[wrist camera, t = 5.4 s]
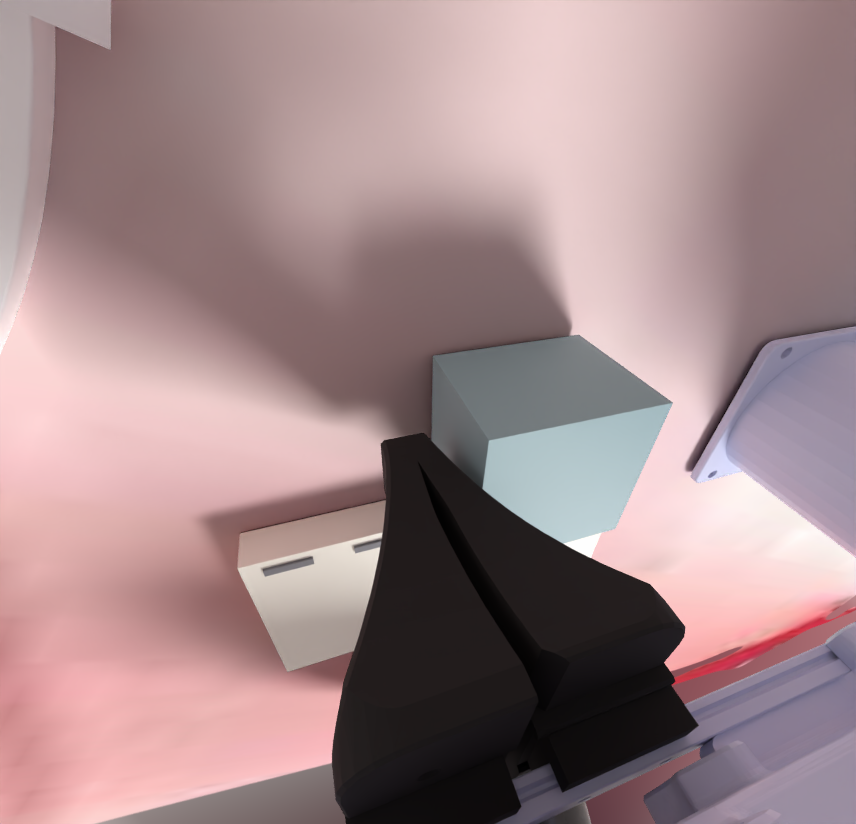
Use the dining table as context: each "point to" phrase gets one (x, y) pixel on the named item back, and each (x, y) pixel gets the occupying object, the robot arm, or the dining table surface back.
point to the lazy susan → (31, 126)
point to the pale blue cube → (547, 430)
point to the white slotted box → (320, 579)
